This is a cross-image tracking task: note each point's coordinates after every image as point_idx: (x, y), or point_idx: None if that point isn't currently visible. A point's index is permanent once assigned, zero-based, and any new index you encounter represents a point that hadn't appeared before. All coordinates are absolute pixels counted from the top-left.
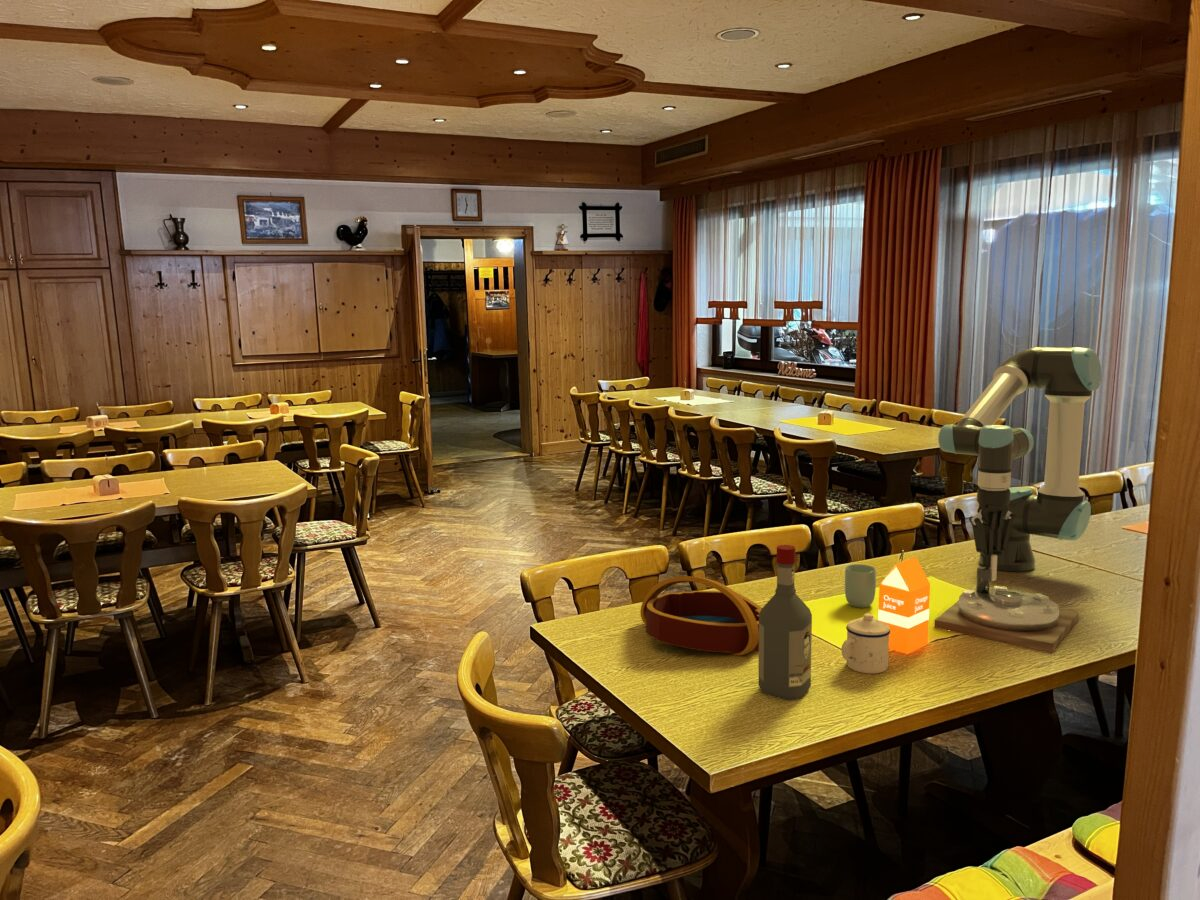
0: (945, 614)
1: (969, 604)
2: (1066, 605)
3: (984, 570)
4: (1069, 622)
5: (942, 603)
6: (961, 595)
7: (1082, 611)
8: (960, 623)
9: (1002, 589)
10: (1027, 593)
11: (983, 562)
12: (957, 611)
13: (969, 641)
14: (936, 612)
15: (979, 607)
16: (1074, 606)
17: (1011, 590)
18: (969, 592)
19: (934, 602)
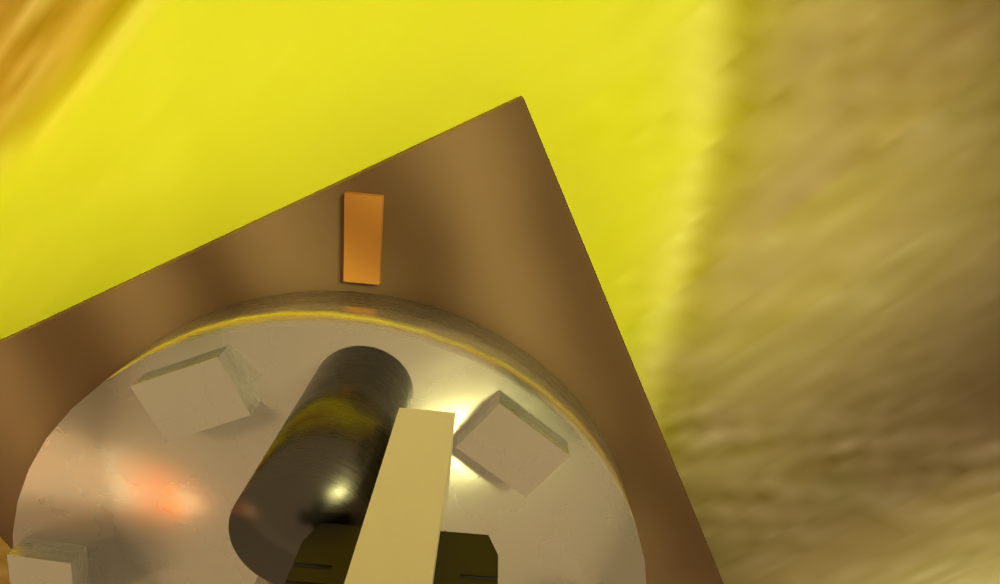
0: (3, 367)
1: (14, 568)
2: (923, 472)
3: (259, 576)
4: None
5: (274, 59)
6: (132, 376)
7: (882, 560)
8: (1, 507)
9: (496, 473)
10: (621, 555)
11: (291, 576)
12: (119, 365)
13: (3, 573)
14: (103, 185)
15: None
16: (938, 499)
17: (587, 468)
18: (179, 419)
19: (232, 6)
